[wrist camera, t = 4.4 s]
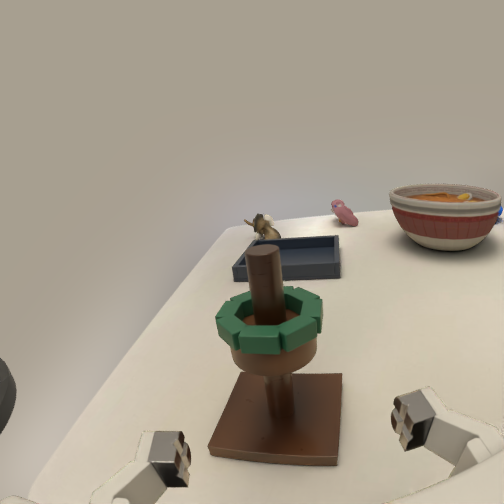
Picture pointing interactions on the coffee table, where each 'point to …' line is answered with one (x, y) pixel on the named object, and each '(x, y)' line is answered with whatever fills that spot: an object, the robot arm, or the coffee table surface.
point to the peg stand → (278, 388)
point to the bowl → (445, 214)
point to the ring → (270, 336)
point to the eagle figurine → (264, 227)
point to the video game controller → (344, 213)
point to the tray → (300, 258)
